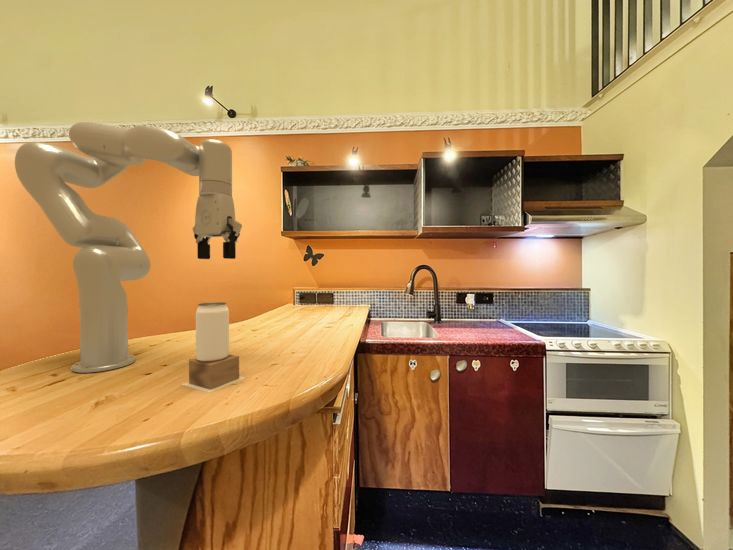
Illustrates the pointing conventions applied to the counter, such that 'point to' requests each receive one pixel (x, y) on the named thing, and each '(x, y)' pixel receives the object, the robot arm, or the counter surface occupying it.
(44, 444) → the counter surface
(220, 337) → the can
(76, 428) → the counter surface
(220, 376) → the block
